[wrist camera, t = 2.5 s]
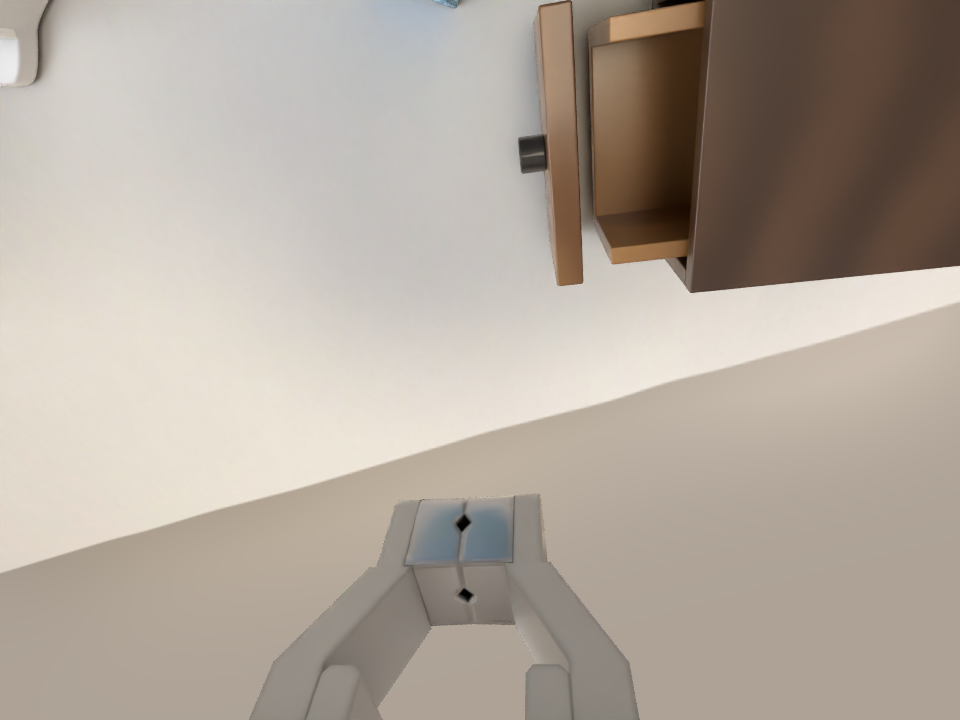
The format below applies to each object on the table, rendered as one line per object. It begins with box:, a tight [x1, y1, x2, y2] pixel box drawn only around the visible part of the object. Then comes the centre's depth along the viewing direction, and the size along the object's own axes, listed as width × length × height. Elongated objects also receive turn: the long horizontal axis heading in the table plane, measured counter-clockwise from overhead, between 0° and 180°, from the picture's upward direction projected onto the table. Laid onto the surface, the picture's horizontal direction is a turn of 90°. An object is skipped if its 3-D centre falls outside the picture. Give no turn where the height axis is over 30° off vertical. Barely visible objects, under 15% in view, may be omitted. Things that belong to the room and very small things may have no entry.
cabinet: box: [653, 0, 960, 293], centre depth 22 cm, size 14×12×9 cm
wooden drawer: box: [518, 0, 705, 286], centre depth 22 cm, size 14×11×7 cm
